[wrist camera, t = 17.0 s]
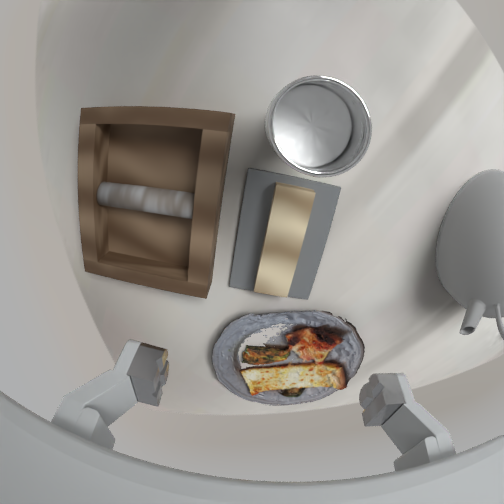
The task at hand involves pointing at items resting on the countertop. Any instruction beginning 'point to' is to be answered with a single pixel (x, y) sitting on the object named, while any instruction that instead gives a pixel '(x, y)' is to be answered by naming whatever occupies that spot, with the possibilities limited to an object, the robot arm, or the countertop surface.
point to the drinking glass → (318, 126)
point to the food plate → (289, 357)
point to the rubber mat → (256, 223)
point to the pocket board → (159, 167)
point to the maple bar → (283, 238)
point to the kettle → (475, 249)
